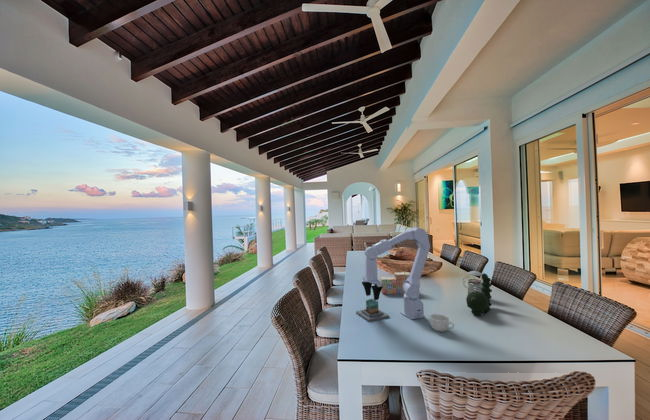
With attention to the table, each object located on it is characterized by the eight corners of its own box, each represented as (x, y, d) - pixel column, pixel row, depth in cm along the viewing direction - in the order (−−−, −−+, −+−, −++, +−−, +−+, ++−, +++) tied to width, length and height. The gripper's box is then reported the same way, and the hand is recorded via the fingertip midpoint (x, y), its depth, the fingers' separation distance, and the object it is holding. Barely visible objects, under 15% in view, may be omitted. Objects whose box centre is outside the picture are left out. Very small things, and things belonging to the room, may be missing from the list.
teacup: (427, 330, 123) (426, 317, 123) (434, 324, 128) (433, 312, 128) (450, 336, 116) (450, 323, 116) (456, 330, 121) (456, 318, 121)
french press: (488, 299, 160) (487, 256, 160) (468, 299, 161) (466, 256, 161) (479, 294, 170) (478, 253, 170) (460, 294, 171) (459, 253, 170)
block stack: (378, 314, 140) (378, 301, 140) (370, 315, 138) (370, 302, 138) (373, 311, 144) (373, 298, 144) (366, 312, 142) (366, 300, 142)
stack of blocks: (382, 294, 175) (381, 274, 175) (380, 291, 182) (380, 272, 182) (416, 293, 174) (416, 274, 174) (413, 290, 181) (413, 271, 181)
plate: (389, 317, 138) (389, 313, 138) (368, 321, 133) (368, 317, 133) (375, 309, 149) (375, 305, 149) (356, 313, 144) (356, 309, 144)
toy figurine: (477, 306, 154) (461, 315, 136) (477, 271, 155) (461, 275, 137) (497, 310, 147) (483, 321, 129) (497, 273, 148) (483, 278, 130)
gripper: (357, 268, 146) (358, 294, 146) (372, 274, 133) (373, 303, 133) (369, 267, 149) (369, 292, 149) (385, 272, 136) (385, 300, 136)
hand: (372, 297), depth 141 cm, fingers open, 7 cm apart
